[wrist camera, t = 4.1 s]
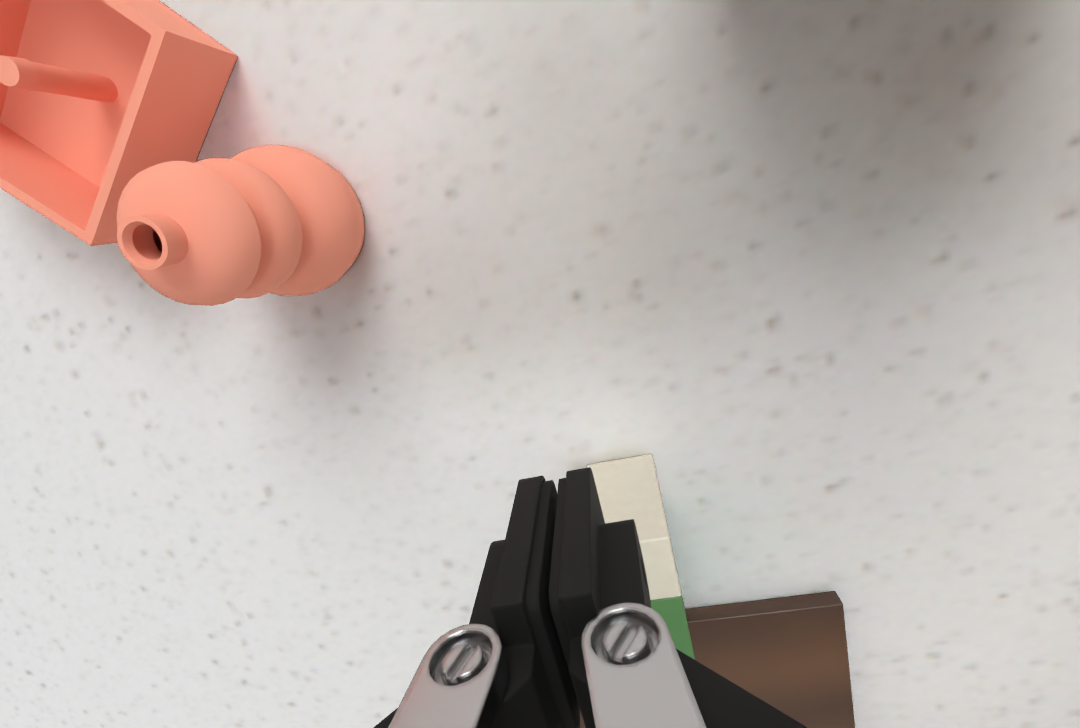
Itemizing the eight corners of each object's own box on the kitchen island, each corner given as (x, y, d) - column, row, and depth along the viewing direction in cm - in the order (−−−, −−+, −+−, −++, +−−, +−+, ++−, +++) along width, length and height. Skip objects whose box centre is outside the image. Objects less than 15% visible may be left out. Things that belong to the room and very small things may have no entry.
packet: (586, 464, 28) (583, 549, 22) (652, 452, 28) (669, 537, 21) (623, 612, 31) (630, 726, 25) (683, 604, 31) (707, 720, 24)
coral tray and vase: (-4, 126, 26) (-343, 94, 16) (48, -77, 23) (-330, -256, 13) (321, 337, 28) (182, 416, 18) (409, 176, 25) (297, 174, 15)
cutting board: (491, 632, 33) (488, 645, 32) (835, 590, 29) (843, 604, 29) (545, 789, 37) (544, 805, 36) (853, 768, 34) (860, 785, 33)
